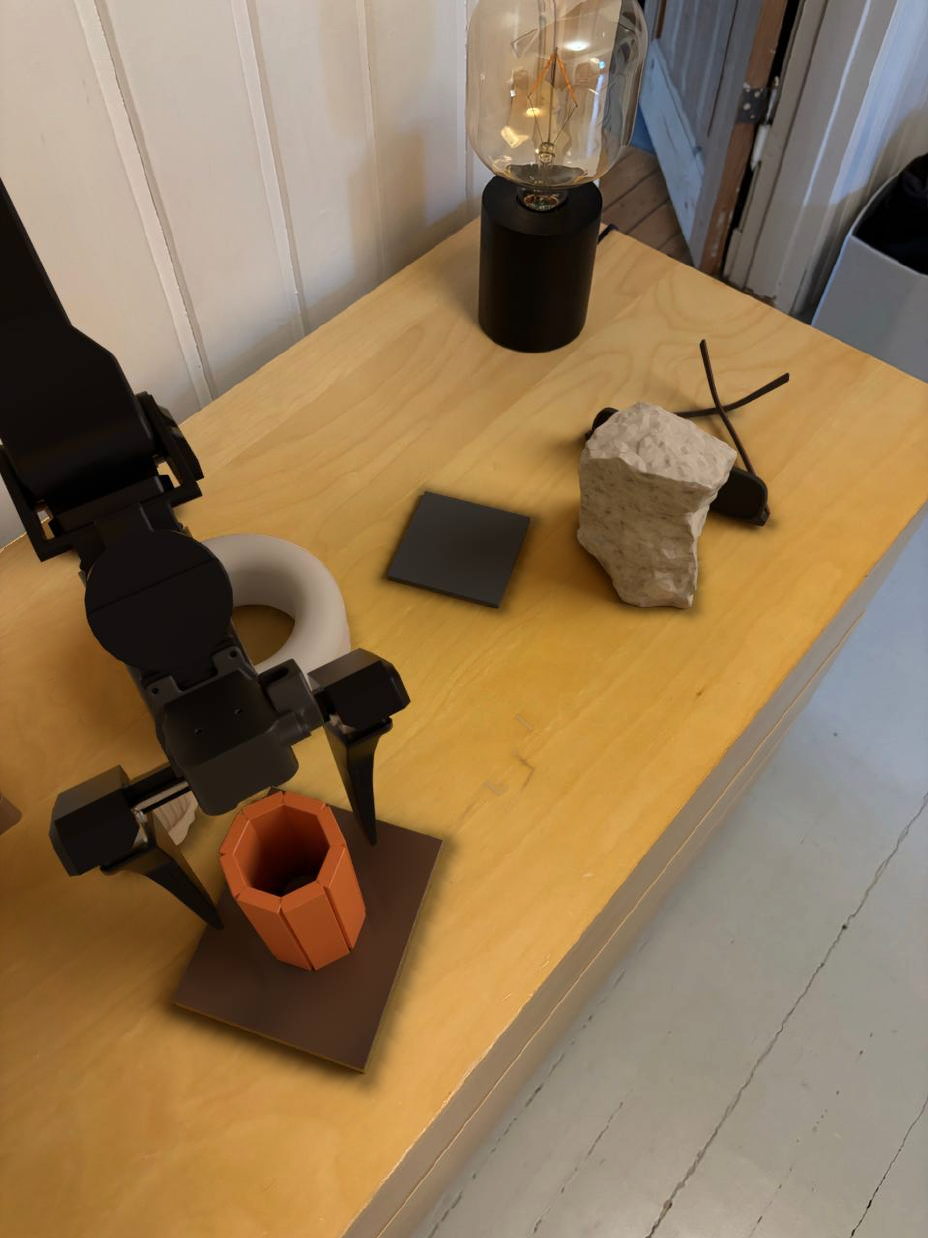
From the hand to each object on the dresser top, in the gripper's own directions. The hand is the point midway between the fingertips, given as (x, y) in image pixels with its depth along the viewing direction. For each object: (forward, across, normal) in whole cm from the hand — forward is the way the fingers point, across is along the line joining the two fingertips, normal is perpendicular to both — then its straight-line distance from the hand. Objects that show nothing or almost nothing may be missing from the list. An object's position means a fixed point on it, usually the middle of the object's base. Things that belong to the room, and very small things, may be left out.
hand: (298, 885), depth 52 cm
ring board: (+6, 0, +6) cm, 8 cm away
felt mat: (-9, +22, +20) cm, 32 cm away
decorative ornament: (-2, -7, +14) cm, 15 cm away
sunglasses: (-9, +46, +20) cm, 51 cm away
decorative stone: (-4, +34, +15) cm, 37 cm away
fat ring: (-8, +4, +20) cm, 22 cm away
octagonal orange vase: (+4, 0, +4) cm, 6 cm away
